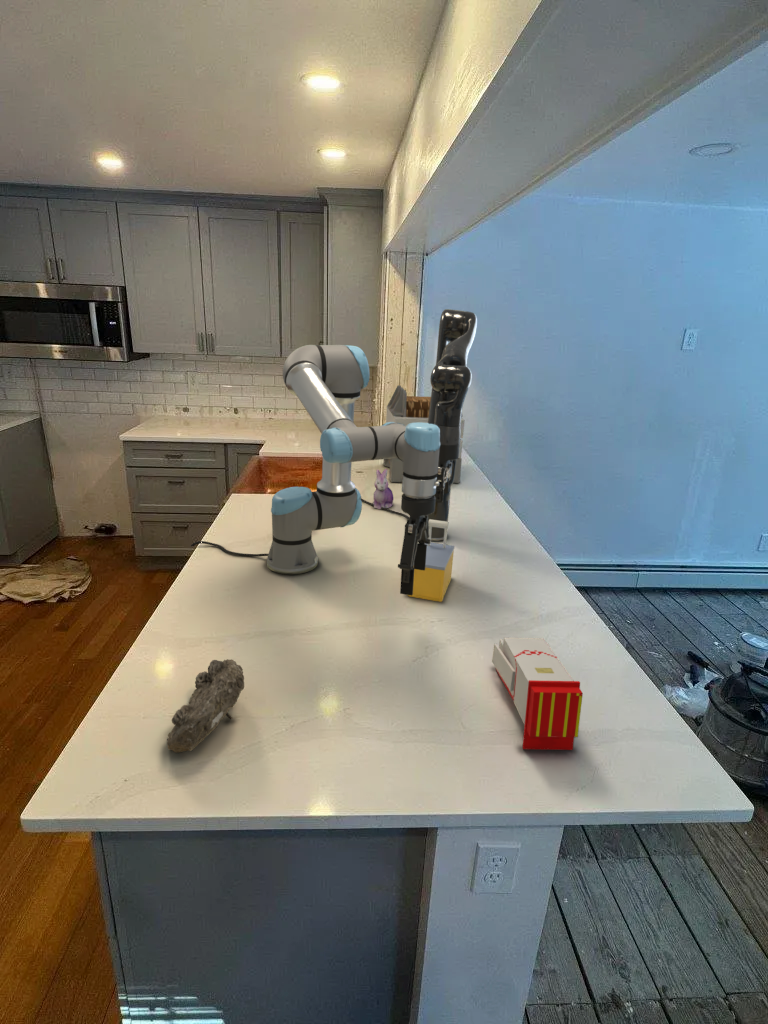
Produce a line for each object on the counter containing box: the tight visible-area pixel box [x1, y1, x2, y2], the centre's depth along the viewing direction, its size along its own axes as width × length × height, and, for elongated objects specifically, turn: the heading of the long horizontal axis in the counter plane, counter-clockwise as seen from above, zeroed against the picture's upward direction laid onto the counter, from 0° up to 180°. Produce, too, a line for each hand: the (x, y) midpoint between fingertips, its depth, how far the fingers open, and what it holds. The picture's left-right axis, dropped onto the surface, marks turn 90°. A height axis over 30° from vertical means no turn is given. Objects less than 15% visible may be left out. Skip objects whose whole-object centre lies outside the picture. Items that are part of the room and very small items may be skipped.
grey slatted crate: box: [383, 384, 465, 484], centre depth 268 cm, size 34×33×41 cm
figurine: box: [372, 468, 394, 510], centre depth 225 cm, size 9×10×15 cm
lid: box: [425, 519, 455, 570], centre depth 158 cm, size 16×10×9 cm, turn 164°
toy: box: [491, 637, 584, 751], centre depth 115 cm, size 12×13×30 cm
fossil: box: [166, 658, 245, 754], centre depth 106 cm, size 22×10×15 cm
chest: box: [407, 549, 455, 603], centre depth 161 cm, size 15×10×10 cm, turn 164°
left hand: (413, 581), depth 132 cm, fingers open, 13 cm apart
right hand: (441, 497), depth 159 cm, fingers open, 8 cm apart
